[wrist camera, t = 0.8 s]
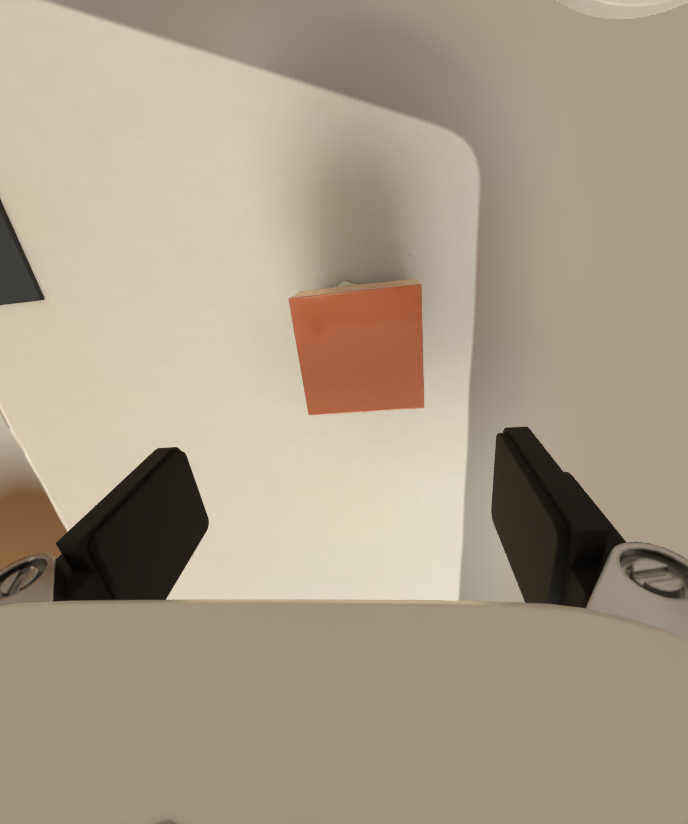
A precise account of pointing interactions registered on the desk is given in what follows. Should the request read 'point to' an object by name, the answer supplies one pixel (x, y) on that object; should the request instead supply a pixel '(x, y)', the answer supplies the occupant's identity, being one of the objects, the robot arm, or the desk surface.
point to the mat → (14, 268)
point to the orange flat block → (360, 346)
